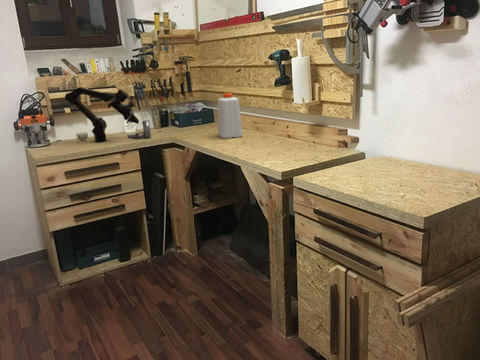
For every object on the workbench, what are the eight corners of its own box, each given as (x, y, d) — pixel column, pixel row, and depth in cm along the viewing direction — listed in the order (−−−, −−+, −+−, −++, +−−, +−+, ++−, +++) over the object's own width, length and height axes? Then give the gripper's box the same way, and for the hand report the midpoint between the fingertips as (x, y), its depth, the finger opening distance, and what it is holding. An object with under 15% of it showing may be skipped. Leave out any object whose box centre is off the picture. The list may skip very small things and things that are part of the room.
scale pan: (135, 135, 273) (135, 134, 273) (129, 134, 279) (129, 133, 279) (145, 133, 279) (145, 132, 278) (139, 132, 284) (139, 131, 284)
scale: (136, 139, 270) (135, 133, 269) (127, 137, 279) (126, 131, 278) (150, 136, 277) (149, 130, 276) (141, 134, 286) (140, 129, 285)
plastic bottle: (238, 133, 274) (236, 92, 265) (244, 137, 260) (242, 93, 251) (217, 135, 270) (214, 93, 262) (221, 139, 256) (219, 95, 248)
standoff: (146, 139, 269) (144, 121, 265) (143, 138, 272) (141, 121, 268) (152, 138, 272) (150, 120, 268) (148, 137, 275) (146, 120, 271)
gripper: (126, 99, 252) (146, 114, 258) (127, 96, 270) (145, 111, 275) (115, 112, 253) (135, 127, 259) (117, 109, 270) (135, 123, 276)
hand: (138, 122), depth 267 cm, fingers open, 9 cm apart
